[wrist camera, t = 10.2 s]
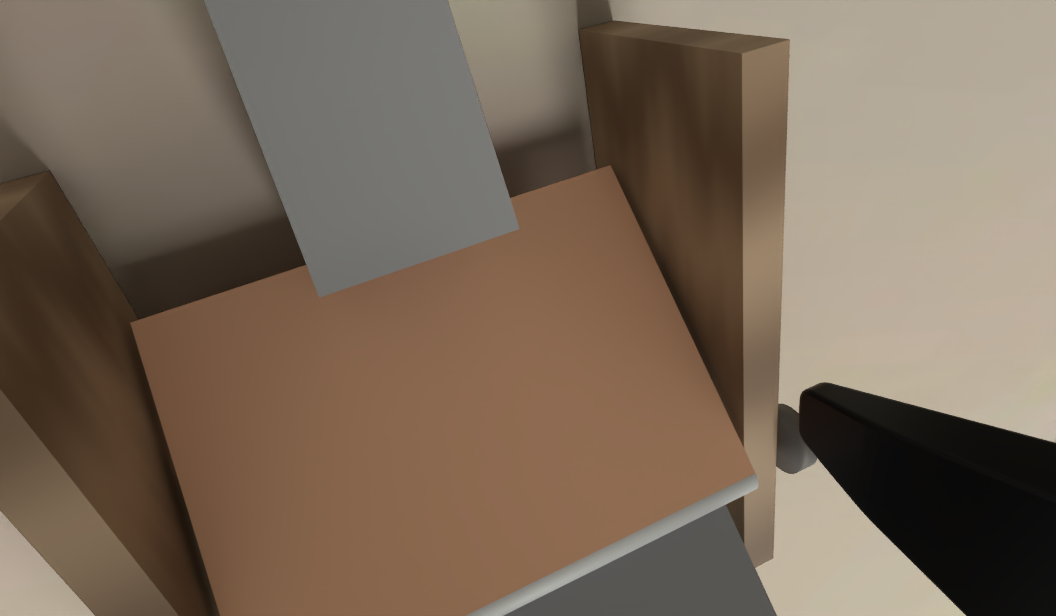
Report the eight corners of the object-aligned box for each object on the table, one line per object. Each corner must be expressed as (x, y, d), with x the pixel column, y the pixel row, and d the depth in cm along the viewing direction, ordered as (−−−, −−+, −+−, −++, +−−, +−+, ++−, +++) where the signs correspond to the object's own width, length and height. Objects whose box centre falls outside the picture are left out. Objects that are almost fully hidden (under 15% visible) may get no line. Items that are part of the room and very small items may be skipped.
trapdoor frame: (667, 426, 28) (808, 572, 21) (253, 612, 24) (260, 874, 17) (630, 16, 20) (850, 36, 13) (-33, 192, 15) (-264, 374, 8)
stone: (519, 229, 14) (429, -54, 13) (318, 297, 13) (201, -5, 12) (476, 230, 18) (406, 18, 17) (322, 282, 17) (236, 59, 16)
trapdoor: (758, 623, 21) (844, 661, 17) (351, 851, 18) (329, 972, 14) (576, 220, 24) (610, 164, 20) (191, 354, 21) (130, 322, 16)
